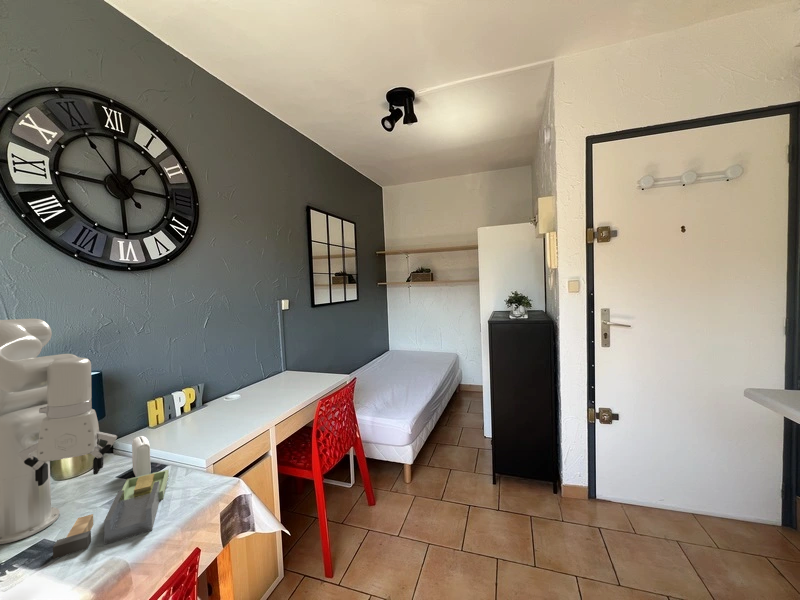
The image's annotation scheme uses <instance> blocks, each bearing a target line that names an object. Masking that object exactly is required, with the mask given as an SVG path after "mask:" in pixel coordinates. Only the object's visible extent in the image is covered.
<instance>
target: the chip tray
mask: <svg viewBox="0 0 800 600" xmlns="http://www.w3.org/2000/svg"><path fill="white" fill-rule="evenodd" d="M169 472H170V471H169V469H164V470H161V471H156V472H152V473H150V474H154V475H155V482H158V481H159V490H160V501H161V500H163V499H164V498H165V493H166V489H167V486H168V482H167V481H169V478H168V477H170V476H169V475H170V474H169ZM150 474H147V475H150ZM143 476H145V475H143ZM139 477H141V476H139ZM139 477H136V476H135V477H131V478H126V480H125V483H124V485H123V486H122V489H121V491H122V490H124V500H127V499H131V498H135V497H134V489H135V486H136V482H137V480H138V478H139ZM148 494H150V493H148ZM144 495H146V494H144ZM141 496H142V495H141ZM137 497H139V496H137Z"/></svg>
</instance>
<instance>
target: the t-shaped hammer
mask: <svg viewBox="0 0 800 600" xmlns="http://www.w3.org/2000/svg"><path fill="white" fill-rule="evenodd" d="M93 527H94V513H93V514H87V515H83V516H81V517H77V518H76V521H75V522H74V524H73V526H71V528H70V530H69V532H68V534H67V535H66V537H63V538H60V539H57V540H56V541H55V542H54V545H53V546H52V559H53V560H56V559H58V558H59V559H60V558H62V557H66V556H69V555H72V554H76V553H78V552H81V551H84V550H88V549H89V547H90V545H91V543H92V531H91V530H92V528H93Z"/></svg>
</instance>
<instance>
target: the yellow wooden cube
mask: <svg viewBox="0 0 800 600" xmlns="http://www.w3.org/2000/svg"><path fill="white" fill-rule="evenodd" d="M152 488H153V480H148V481H144V482H140V483H137V484H136V486H135V489H134V497H137V496H141V495H144V494H148V493H151V491H152Z"/></svg>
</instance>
